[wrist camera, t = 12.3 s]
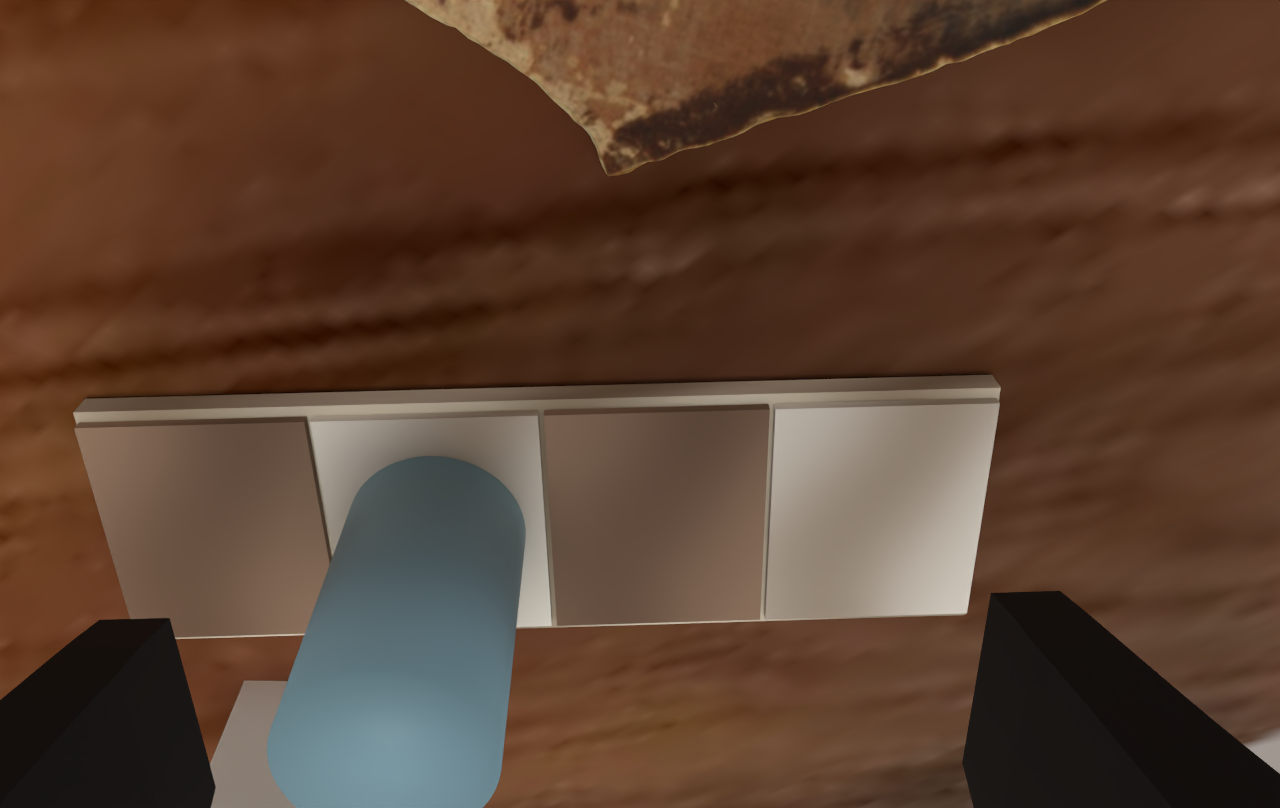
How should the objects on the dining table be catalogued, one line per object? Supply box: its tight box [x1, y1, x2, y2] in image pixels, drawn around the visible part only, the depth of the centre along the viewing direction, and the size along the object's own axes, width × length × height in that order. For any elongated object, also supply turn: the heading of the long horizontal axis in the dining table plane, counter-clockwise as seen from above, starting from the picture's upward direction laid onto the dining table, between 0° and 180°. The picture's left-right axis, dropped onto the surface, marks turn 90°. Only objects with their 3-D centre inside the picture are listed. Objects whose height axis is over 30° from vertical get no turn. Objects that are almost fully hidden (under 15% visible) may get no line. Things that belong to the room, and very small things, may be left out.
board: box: [73, 375, 1001, 639], centre depth 20 cm, size 16×5×1 cm, turn 91°
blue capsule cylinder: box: [267, 456, 526, 808], centre depth 18 cm, size 3×3×6 cm
